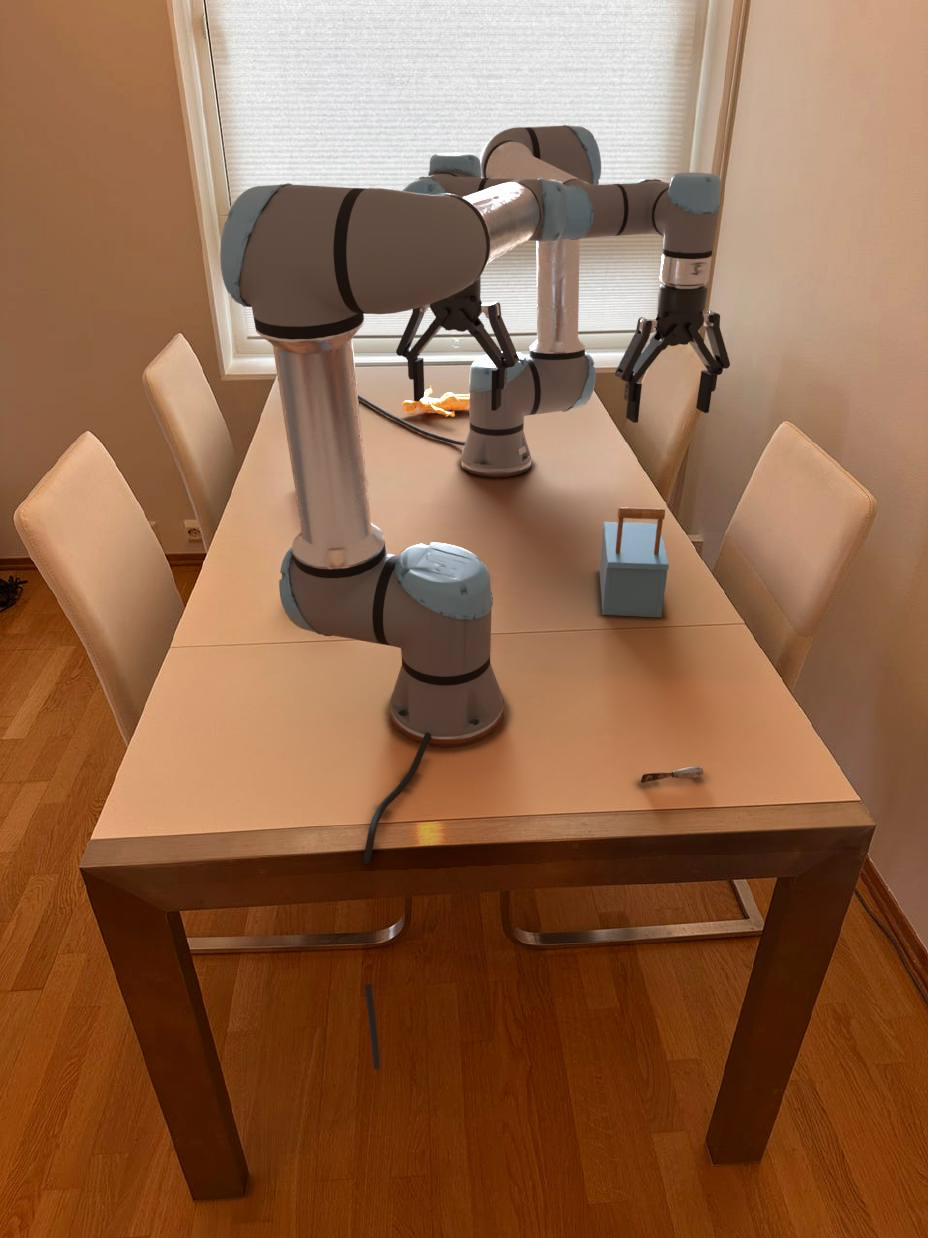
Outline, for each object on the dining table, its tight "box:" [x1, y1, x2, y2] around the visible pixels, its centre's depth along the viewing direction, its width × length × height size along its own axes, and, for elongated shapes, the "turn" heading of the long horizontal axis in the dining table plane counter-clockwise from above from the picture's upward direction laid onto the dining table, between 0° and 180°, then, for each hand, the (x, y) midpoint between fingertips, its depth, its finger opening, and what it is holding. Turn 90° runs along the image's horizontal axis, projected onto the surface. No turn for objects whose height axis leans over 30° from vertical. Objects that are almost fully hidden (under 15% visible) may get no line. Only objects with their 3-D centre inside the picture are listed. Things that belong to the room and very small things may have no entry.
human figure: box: [402, 385, 469, 418], centre depth 225 cm, size 20×20×4 cm
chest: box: [599, 527, 668, 618], centre depth 145 cm, size 14×9×9 cm
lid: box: [603, 507, 670, 571], centre depth 140 cm, size 14×9×9 cm, turn 175°
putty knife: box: [640, 765, 705, 784], centre depth 109 cm, size 1×8×2 cm, turn 103°
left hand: (457, 403), depth 147 cm, fingers open, 13 cm apart
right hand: (667, 415), depth 151 cm, fingers open, 13 cm apart
